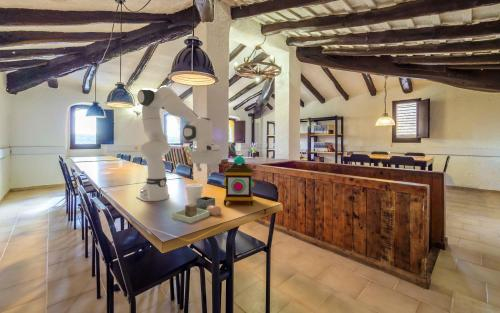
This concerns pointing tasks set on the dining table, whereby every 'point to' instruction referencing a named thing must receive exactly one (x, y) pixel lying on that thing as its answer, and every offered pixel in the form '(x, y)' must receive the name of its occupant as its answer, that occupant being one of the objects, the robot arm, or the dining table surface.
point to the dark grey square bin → (205, 202)
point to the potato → (214, 210)
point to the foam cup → (194, 193)
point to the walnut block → (190, 210)
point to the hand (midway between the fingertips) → (205, 171)
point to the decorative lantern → (238, 182)
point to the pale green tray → (200, 215)
